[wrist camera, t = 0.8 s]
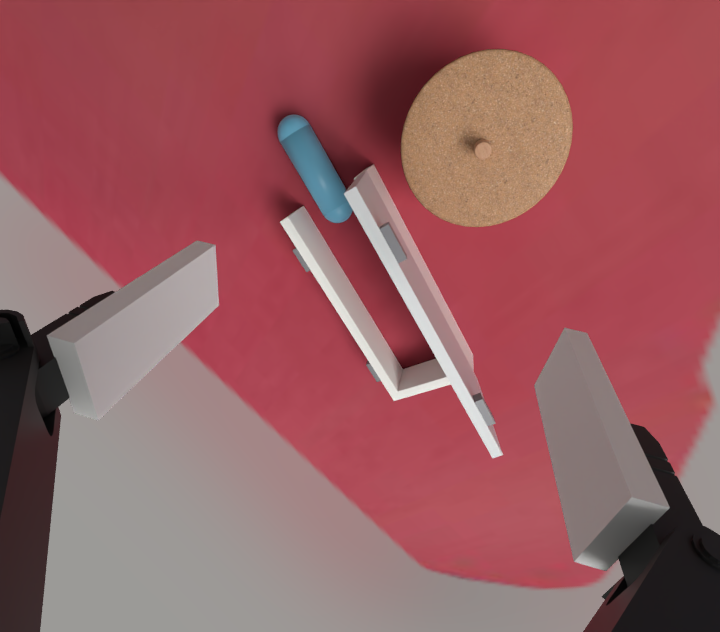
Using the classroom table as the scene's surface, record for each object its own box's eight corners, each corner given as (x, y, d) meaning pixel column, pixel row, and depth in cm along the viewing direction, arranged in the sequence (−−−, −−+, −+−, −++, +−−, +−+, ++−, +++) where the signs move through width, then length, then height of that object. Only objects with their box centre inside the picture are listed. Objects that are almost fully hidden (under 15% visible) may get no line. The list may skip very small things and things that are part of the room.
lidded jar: (447, 222, 36) (441, 260, 29) (390, 110, 33) (366, 117, 25) (570, 161, 32) (605, 186, 24) (519, 23, 28) (540, -2, 20)
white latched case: (291, 213, 39) (274, 224, 36) (373, 164, 35) (363, 172, 32) (394, 379, 47) (389, 402, 43) (473, 354, 43) (473, 377, 39)
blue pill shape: (279, 125, 36) (265, 128, 33) (305, 106, 34) (292, 107, 32) (336, 223, 39) (327, 232, 36) (362, 209, 38) (354, 218, 35)
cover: (343, 193, 23) (364, 181, 22) (358, 175, 32) (373, 166, 31) (492, 458, 30) (510, 452, 30) (469, 382, 39) (483, 377, 39)
